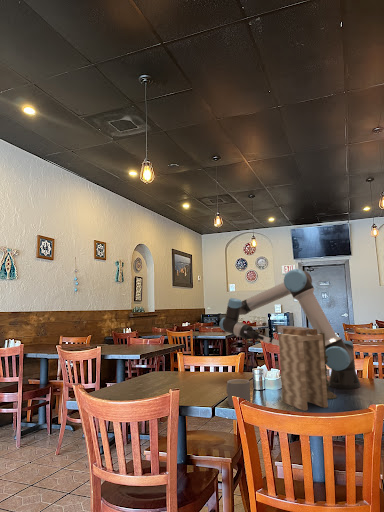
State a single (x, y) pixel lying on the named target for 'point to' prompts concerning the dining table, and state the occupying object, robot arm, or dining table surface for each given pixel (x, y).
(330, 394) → the candlestick holder
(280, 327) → the hook arm
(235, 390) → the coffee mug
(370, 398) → the dining table surface
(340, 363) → the robot arm
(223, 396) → the dining table surface
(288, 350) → the brown wavy-patterned folding screen
